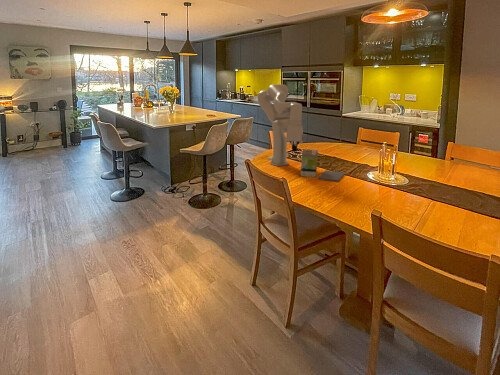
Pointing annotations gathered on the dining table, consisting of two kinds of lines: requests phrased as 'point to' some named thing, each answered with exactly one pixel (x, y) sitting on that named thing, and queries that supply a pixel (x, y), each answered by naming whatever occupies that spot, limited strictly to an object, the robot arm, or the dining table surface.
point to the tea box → (309, 163)
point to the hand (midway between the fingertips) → (294, 151)
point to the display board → (331, 176)
